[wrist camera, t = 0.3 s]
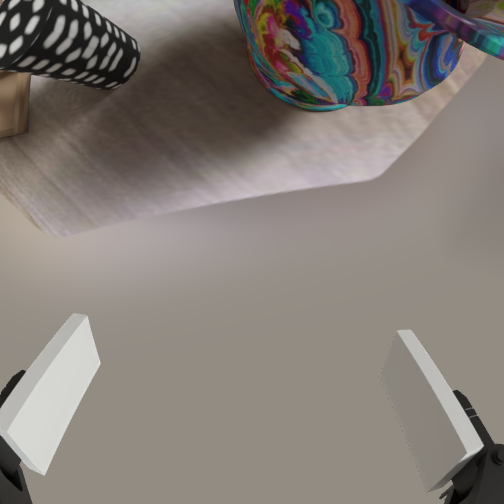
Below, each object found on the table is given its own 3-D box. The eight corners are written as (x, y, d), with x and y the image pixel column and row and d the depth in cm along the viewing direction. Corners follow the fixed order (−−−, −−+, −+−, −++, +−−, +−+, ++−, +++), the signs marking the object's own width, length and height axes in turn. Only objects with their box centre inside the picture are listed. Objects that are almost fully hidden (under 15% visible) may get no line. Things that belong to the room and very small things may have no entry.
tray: (-12, 78, 28) (-21, 77, 26) (33, 58, 28) (24, 56, 26) (-16, 143, 32) (-25, 145, 30) (27, 131, 33) (18, 132, 30)
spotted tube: (146, 74, 31) (58, 29, 13) (92, 100, 32) (-15, 89, 13) (133, 24, 28) (53, -39, 10) (81, 51, 29) (-16, 18, 10)
